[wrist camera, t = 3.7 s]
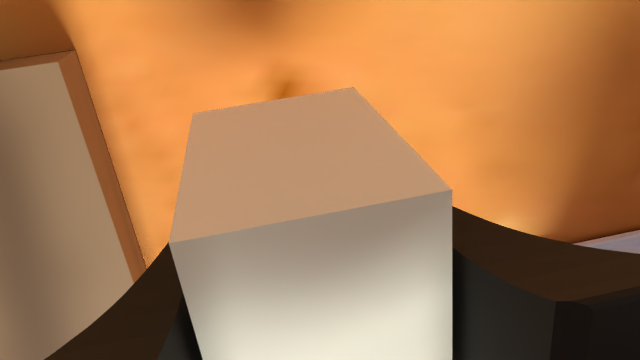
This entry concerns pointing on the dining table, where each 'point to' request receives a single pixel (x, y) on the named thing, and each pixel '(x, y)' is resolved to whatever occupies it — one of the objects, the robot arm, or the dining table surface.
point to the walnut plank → (56, 210)
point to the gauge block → (312, 235)
